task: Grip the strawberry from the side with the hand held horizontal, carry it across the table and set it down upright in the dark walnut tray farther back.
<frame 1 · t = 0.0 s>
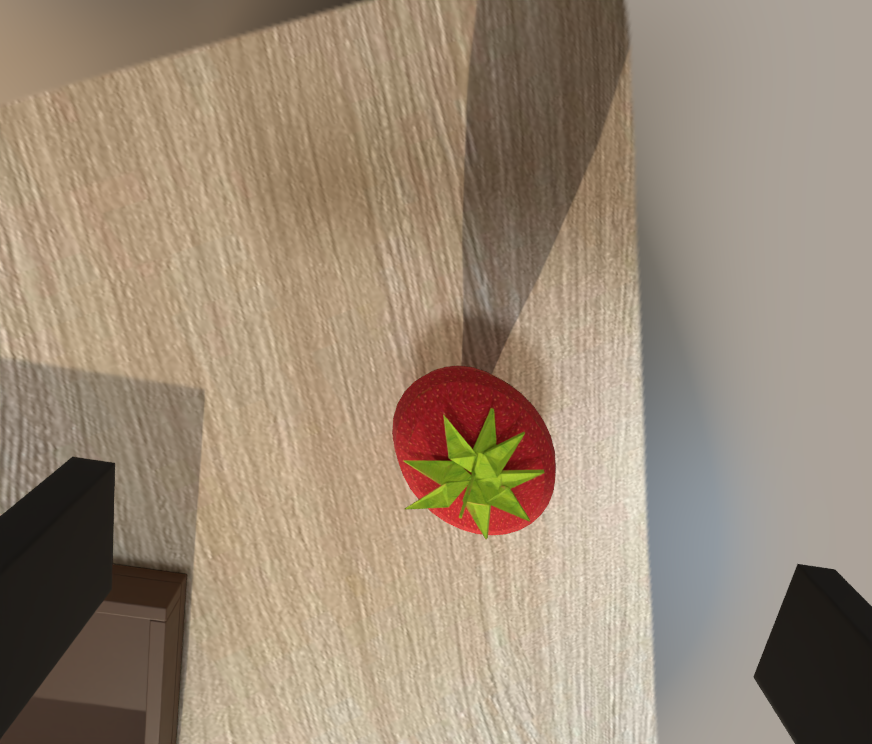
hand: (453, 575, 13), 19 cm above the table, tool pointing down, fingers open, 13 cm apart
strawberry: (467, 402, 32), on the table
tray: (45, 682, 36), on the table
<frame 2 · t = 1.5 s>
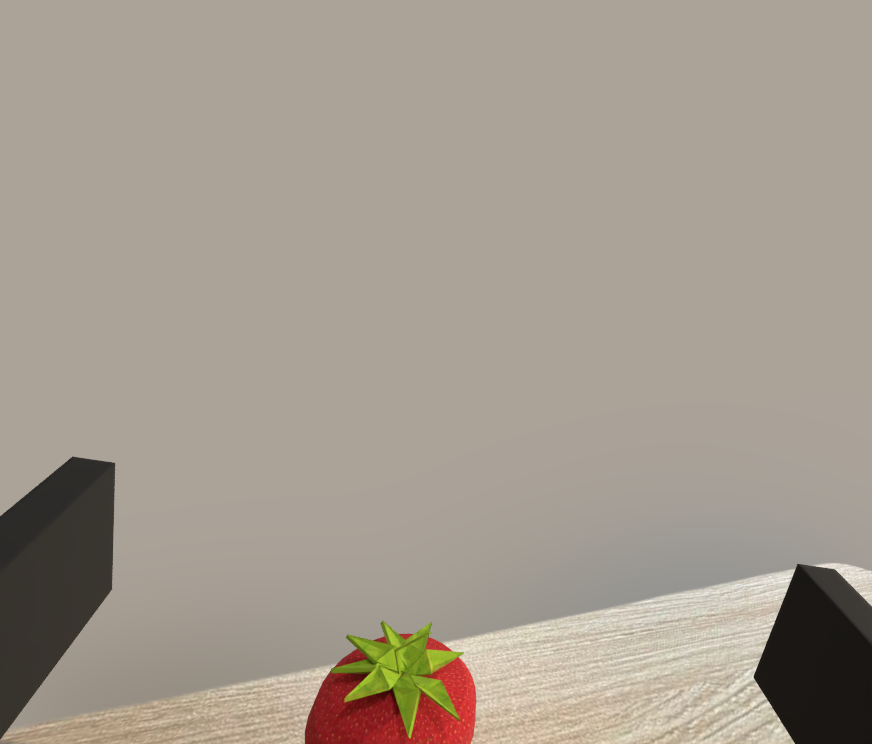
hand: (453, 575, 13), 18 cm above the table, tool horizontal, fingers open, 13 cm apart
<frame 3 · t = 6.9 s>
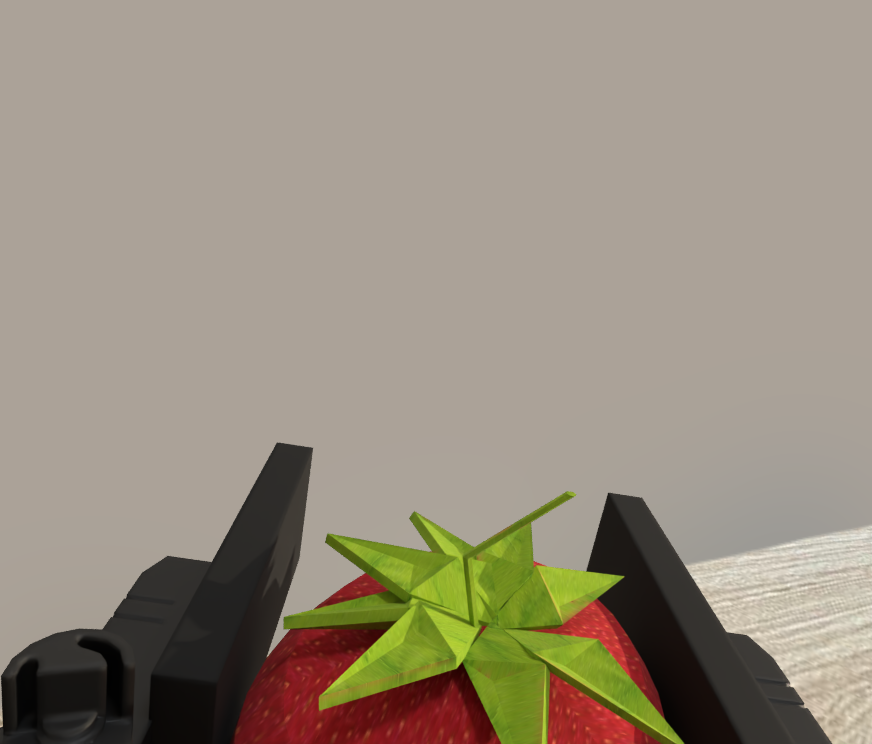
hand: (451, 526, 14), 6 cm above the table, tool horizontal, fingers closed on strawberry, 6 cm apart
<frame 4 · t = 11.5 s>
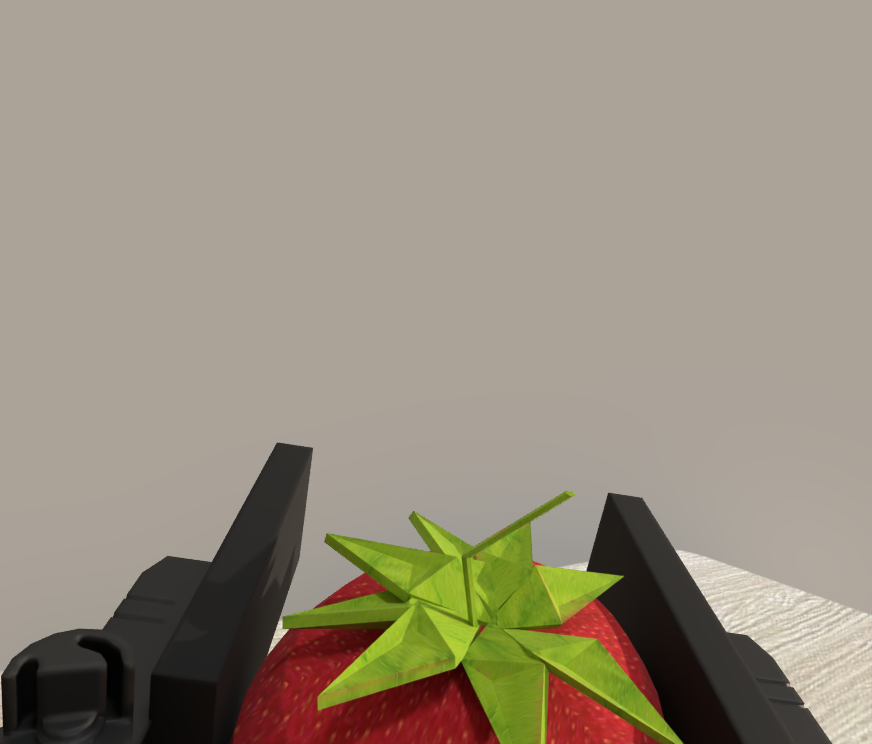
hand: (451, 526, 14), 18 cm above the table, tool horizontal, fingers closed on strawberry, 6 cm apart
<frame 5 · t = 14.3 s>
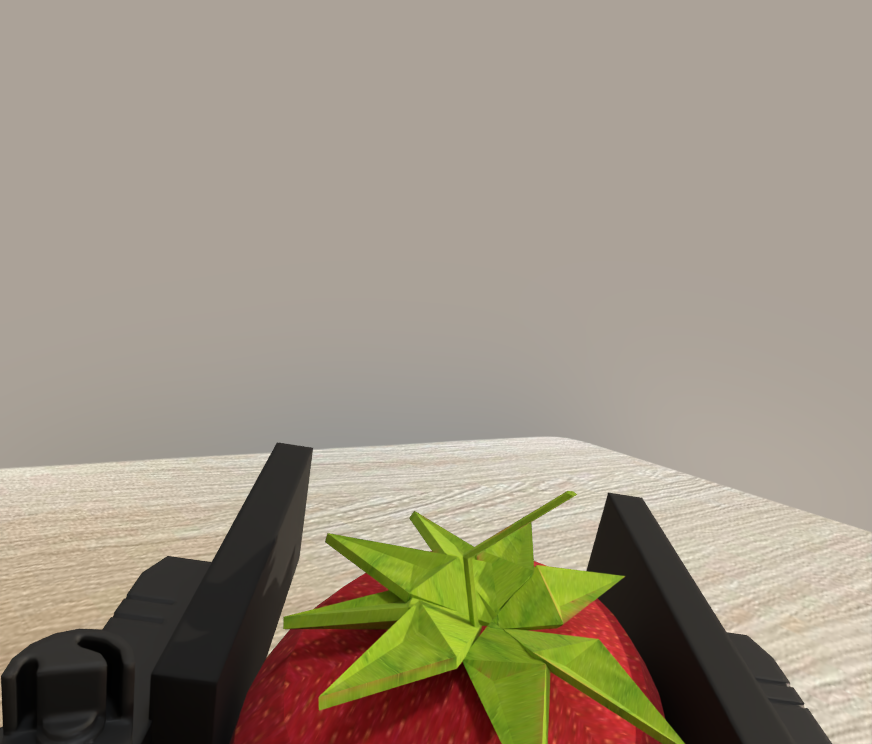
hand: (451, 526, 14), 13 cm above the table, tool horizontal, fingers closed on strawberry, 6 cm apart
when the fingers open (7 cm above the table, at t = 16.4 s): strawberry stays where it is, resting on tray.
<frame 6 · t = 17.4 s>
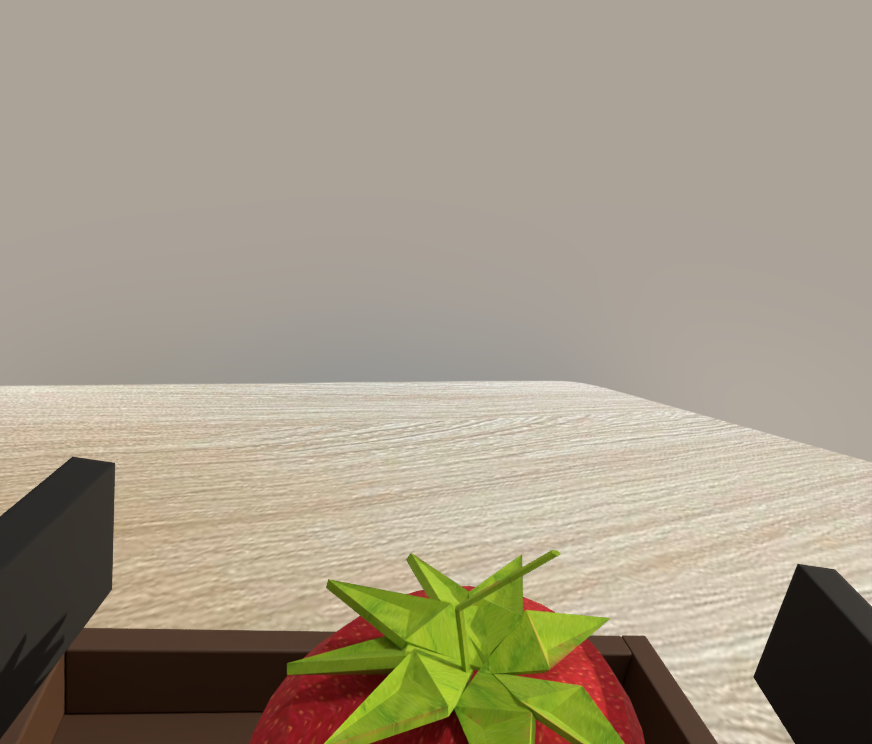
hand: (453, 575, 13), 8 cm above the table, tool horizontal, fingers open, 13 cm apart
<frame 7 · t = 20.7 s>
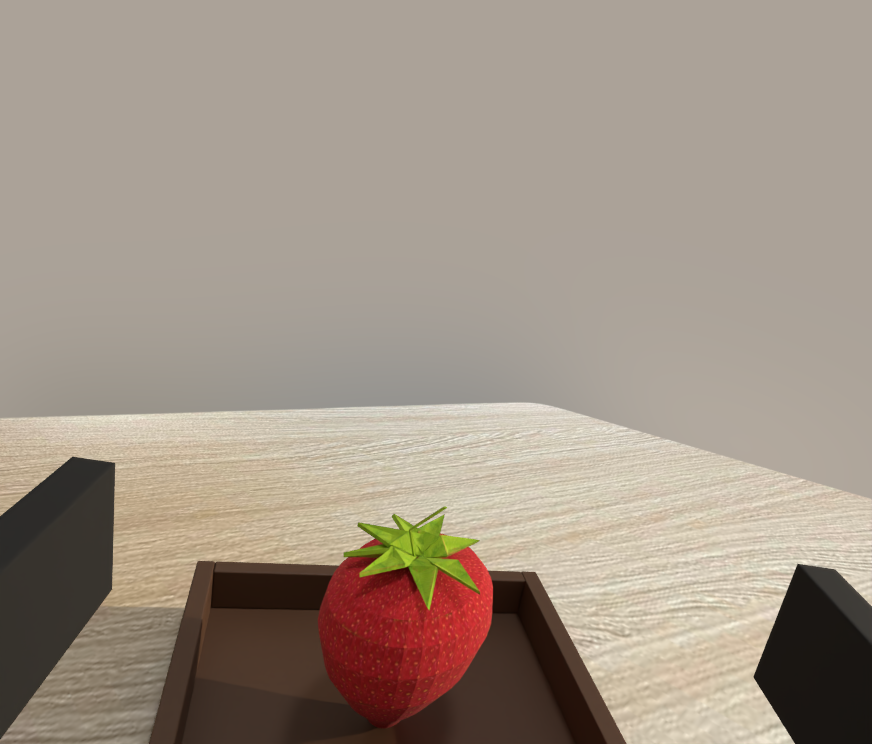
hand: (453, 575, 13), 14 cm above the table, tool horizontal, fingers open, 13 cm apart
strawberry: (387, 725, 26), point 1 cm above the table, touching tray
tray: (384, 736, 26), on the table
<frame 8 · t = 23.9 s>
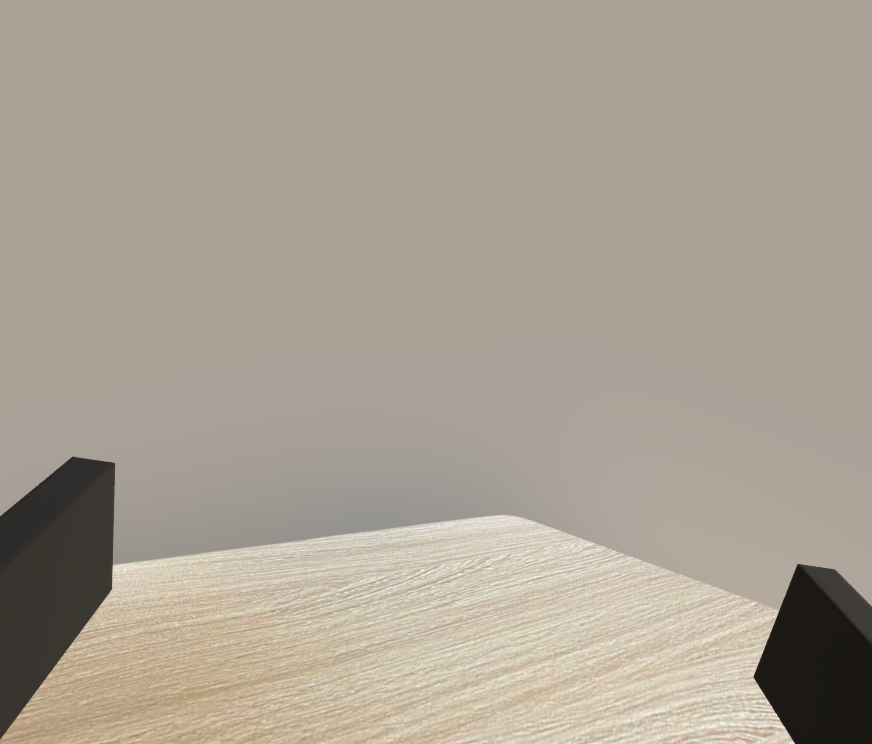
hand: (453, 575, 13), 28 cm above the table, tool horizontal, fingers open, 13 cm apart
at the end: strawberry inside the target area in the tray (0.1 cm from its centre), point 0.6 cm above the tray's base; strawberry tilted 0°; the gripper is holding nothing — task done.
